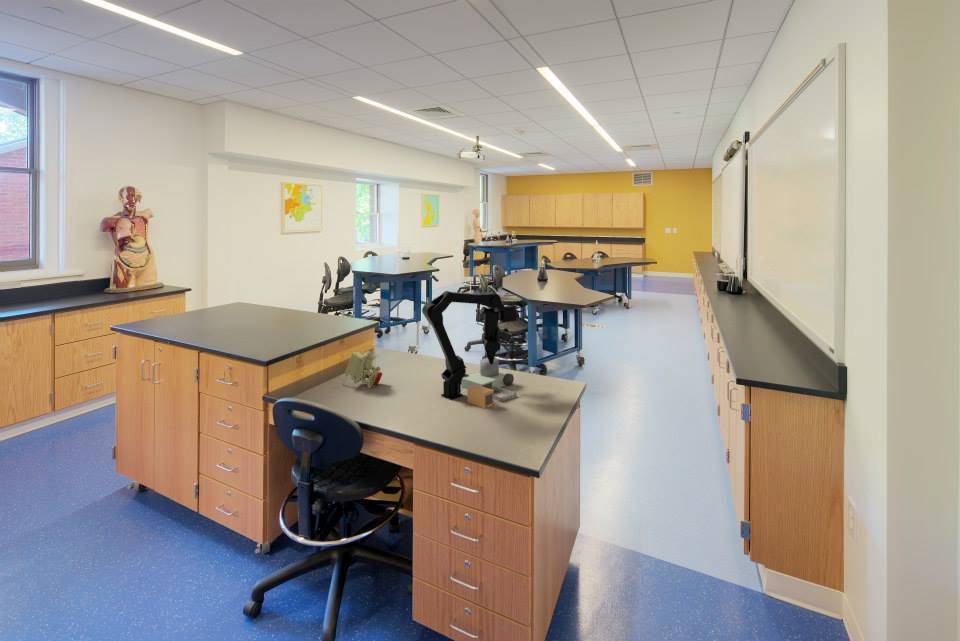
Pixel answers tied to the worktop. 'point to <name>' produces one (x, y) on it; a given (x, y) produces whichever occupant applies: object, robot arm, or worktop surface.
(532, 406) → the worktop surface
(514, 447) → the worktop surface
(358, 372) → the mechanical component
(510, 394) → the bracket
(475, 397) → the tan wooden brick
